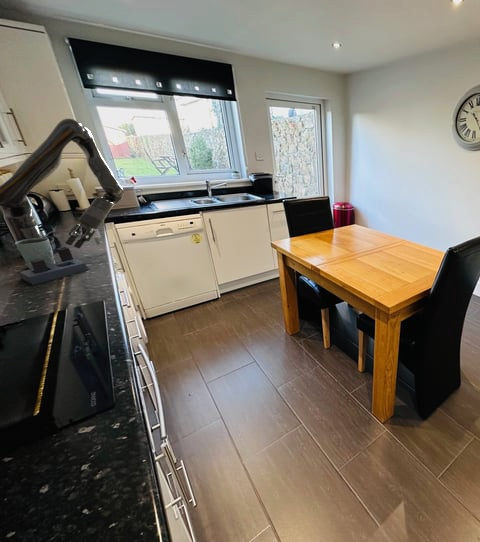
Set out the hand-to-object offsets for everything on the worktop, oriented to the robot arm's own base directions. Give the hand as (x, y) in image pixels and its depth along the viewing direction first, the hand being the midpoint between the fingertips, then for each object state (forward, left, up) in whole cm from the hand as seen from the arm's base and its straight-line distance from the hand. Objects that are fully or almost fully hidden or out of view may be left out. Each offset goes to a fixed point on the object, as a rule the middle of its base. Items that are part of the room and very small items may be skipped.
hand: (72, 245), depth 131 cm
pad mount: (+13, -7, -8) cm, 17 cm away
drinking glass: (-4, -12, -8) cm, 15 cm away
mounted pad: (+15, -10, -8) cm, 20 cm away
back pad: (+1, -3, -8) cm, 9 cm away
